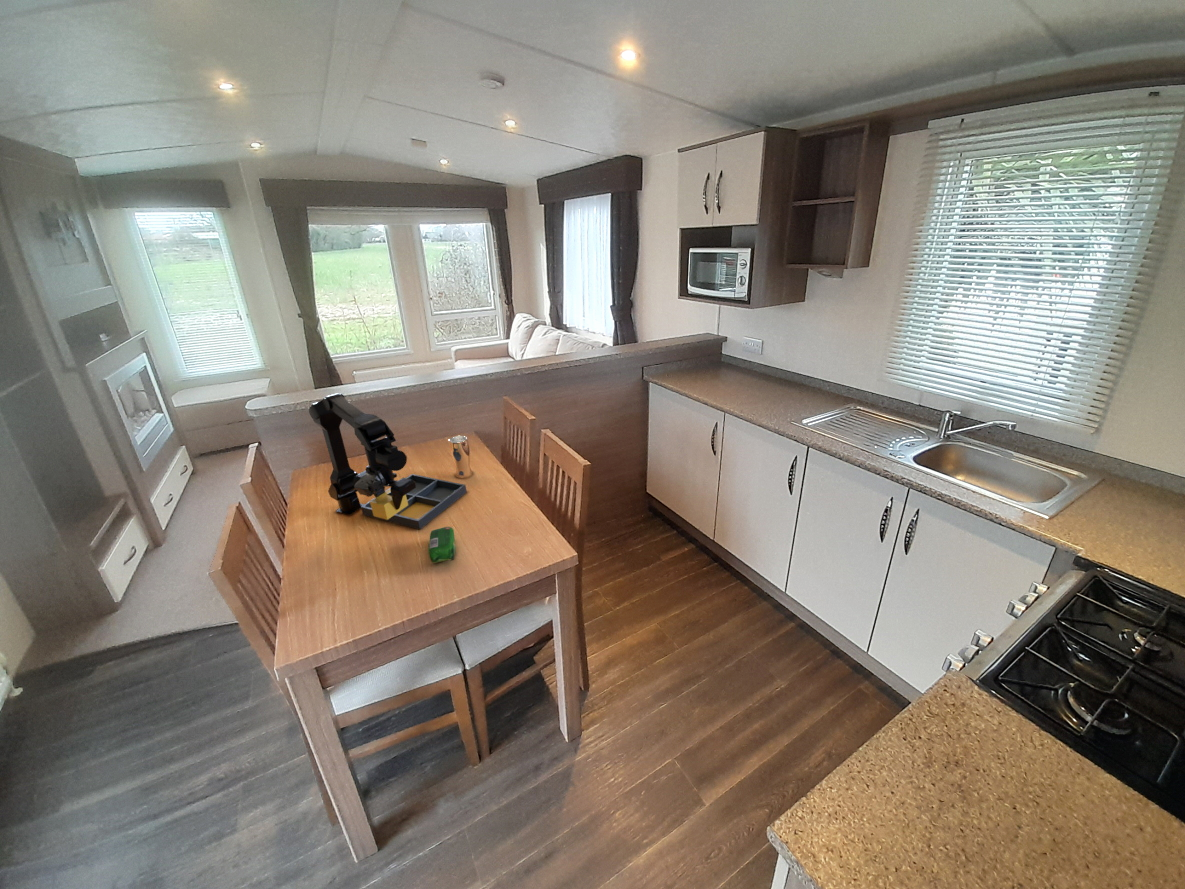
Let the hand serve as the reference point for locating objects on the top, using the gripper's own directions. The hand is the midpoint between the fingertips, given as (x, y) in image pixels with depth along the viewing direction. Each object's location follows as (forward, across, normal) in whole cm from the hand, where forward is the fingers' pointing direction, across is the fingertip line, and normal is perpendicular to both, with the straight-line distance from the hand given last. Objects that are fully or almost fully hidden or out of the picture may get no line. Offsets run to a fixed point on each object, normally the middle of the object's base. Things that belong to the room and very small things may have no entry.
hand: (390, 507), depth 143 cm
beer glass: (+11, -6, +41) cm, 42 cm away
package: (+1, 0, 0) cm, 1 cm away
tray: (+11, -8, +18) cm, 22 cm away
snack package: (+11, +19, -1) cm, 22 cm away
